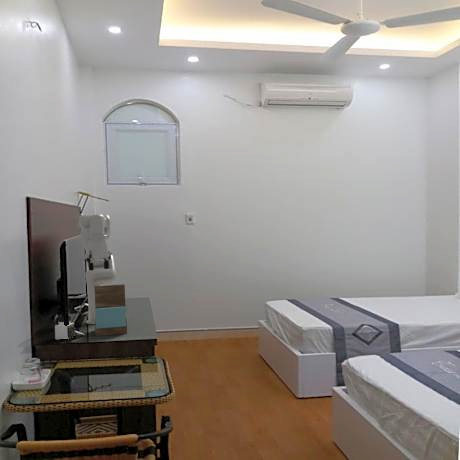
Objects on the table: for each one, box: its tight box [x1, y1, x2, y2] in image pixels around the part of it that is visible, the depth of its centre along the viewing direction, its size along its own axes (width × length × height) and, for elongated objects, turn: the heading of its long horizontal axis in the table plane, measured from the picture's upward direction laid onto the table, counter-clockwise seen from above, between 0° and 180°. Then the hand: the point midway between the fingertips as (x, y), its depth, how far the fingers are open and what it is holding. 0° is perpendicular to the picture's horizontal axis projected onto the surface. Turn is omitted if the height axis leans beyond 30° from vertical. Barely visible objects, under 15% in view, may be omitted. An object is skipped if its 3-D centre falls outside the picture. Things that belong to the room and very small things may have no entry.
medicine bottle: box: [54, 314, 76, 340], centre depth 255 cm, size 7×7×12 cm
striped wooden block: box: [94, 283, 128, 337], centre depth 265 cm, size 15×16×24 cm
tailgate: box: [95, 306, 127, 329], centre depth 257 cm, size 1×15×10 cm, turn 104°
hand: (98, 269), depth 265 cm, fingers open, 9 cm apart
